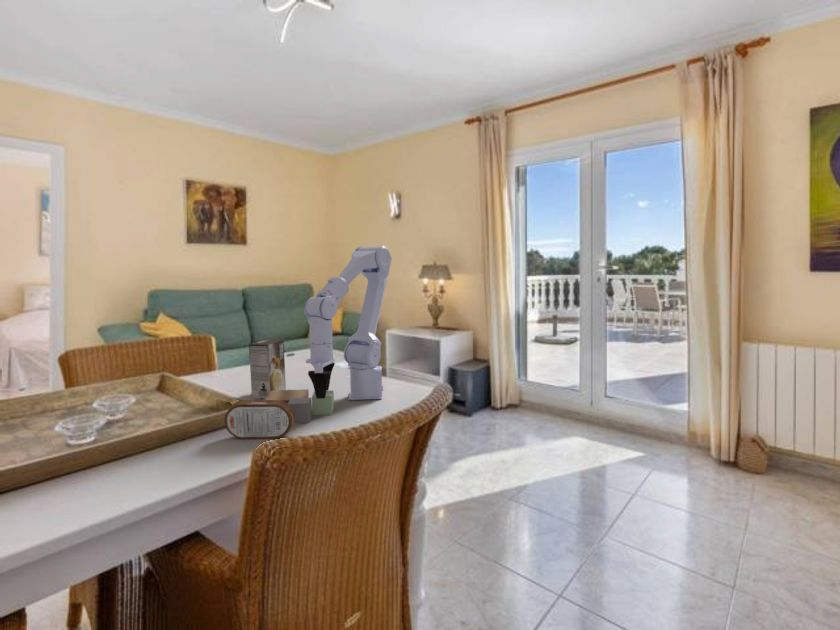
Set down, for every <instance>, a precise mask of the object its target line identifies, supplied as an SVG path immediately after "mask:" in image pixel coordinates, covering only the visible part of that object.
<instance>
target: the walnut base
mask: <svg viewBox="0 0 840 630" xmlns="http://www.w3.org/2000/svg"><path fill="white" fill-rule="evenodd" d="M309 394H310V393H309V389H307V388H306V389H286V390H276V391H271V392H270V394H269V395H268V396H267V398H266V399H264V400H280V401H283V402H285V403H287V404H288V402H289V401H290V399H291V398H310V396H309Z"/></svg>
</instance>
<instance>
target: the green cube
mask: <svg viewBox="0 0 840 630" xmlns="http://www.w3.org/2000/svg"><path fill="white" fill-rule="evenodd" d="M334 394H335V393H334V390H327V391H326V396H325V398H321V399H317V398H316V395H315V390H313V393H312V395H311V403H312V416H321V415H322V416H323V415H325V414H329V415H333V412H334V410H333V409H335V400H334V399H335V398H334V396H335V395H334ZM325 416H326V415H325Z"/></svg>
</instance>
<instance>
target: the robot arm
mask: <svg viewBox="0 0 840 630" xmlns="http://www.w3.org/2000/svg"><path fill="white" fill-rule="evenodd" d="M392 259H393V258H392V256H391V253H390V250H389V249H388V247H387V246H385V245H382V246H358V247H356V248H355V250H354V251H353V252H352V253H351V259H350V260H349V261H348V263H347V264H346V266H345V267H344V268H343V270H342V271H341V273H340V274H339V275H338V276H333V277H329V278H328V280H327V283H326V284H325V285H324V286H323V287H322V289H321V290H319V291H318V292H317V294H316V296H315V295H314V296H311V297H309V298H308V300H307V301H306V302H305V305H304V306H305V307H303V312H304V314H305V316H306V318H307V323H308V325H309V347H310V349H309V350H310V351H309V352H310V358H307V359H305V363H306V364H310V365H312V367H313V369H314V370H308V372H307V374H308V377H309V378H310V381H311V383H312V387H313V391H315V395H316V398H317V399H321V398H325V396H326V391H329V387H330V382H331V377H332V372H333V369H334V367H335V365H336V363H335V360H334V348H333V347H334V344H333V338H334V337H333V318H334V317H336V315H337V313H338V307H339V306H340V302H341V301H342V300H343V299H344V298H345V296H346V295H347V294H348V293H349V290H350V286H349V285H350V284H351V283H352V282H353V281H354V280H355V279H356V278H357V277H358V276H359V275H360V274H361V275H362V276H363V277H365V278H366V280H367V286H366V288H365V289H366V290H365V294H364V299H363V303H362V308H361V313H360V315H359V316H360V318H359V320H358V326H357V331H356V332H355V333H353V334H352V335H350V336H349V338H348V340H347V343H346V345H345V347H344V350H343V359H344V361H345V362H346V363H347V366H348V367H349V371H350V372H349V373H350V374H349V375H350V376H349V377H350V378H349V379H350V381H349V384H350V391H349V394H348V400H349V401H357V400H360V401H361V400H362V401H363V400H382V399H383V391H384V385H383V380H382V379H383V375H382V373H383V372H382V369H383V367H382V366H381V365H378V364H379V362H380V361H381V357H382V352H381V347H382V342H381V341H380V339H379V338H378V337H377V336H376V332H377V328H378V324H379V319H380V314H381V310H382V309H381V308H382V305H383V300H384V296H385V290H386V286H387V282H388V277H389V274H390V273H389V272H390V269H391V265H392Z"/></svg>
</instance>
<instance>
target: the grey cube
mask: <svg viewBox="0 0 840 630" xmlns="http://www.w3.org/2000/svg"><path fill="white" fill-rule="evenodd" d="M288 405H289V406H290V407H291V408H292V410H293V412H294V415H295V422H294V424H309V423H310V422H311V420H312V417H313V415H312V397H309V398H291V399H290V401H289V402H288Z"/></svg>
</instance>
